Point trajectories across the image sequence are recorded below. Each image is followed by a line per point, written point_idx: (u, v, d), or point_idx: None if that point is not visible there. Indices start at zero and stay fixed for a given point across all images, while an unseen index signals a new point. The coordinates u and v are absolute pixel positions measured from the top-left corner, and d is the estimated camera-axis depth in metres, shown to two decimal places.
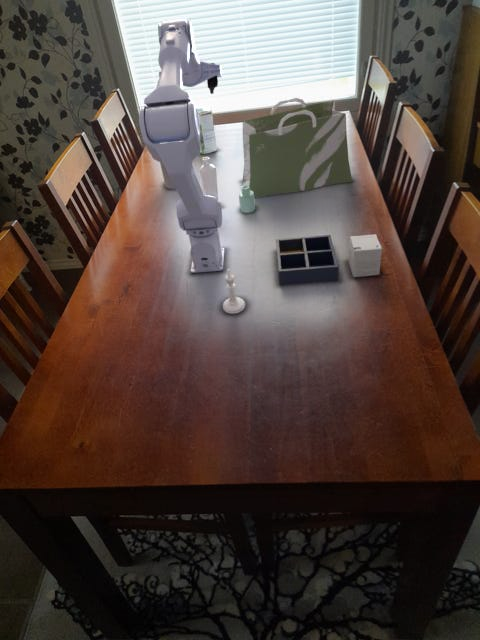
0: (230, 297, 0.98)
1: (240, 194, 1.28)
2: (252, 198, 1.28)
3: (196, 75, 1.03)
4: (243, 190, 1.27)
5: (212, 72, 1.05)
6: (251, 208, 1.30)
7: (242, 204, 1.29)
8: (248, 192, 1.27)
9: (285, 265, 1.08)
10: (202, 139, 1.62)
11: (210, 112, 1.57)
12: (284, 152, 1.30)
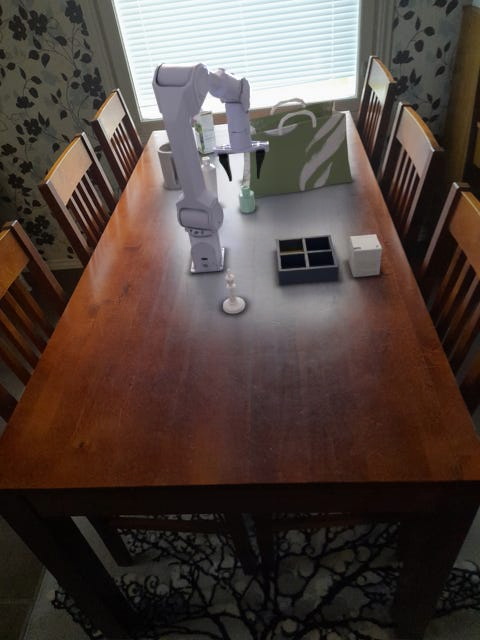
0: (230, 297, 0.98)
1: (240, 194, 1.28)
2: (252, 198, 1.28)
3: (247, 139, 1.16)
4: (243, 190, 1.27)
5: None
6: (251, 208, 1.30)
7: (242, 204, 1.29)
8: (248, 192, 1.27)
9: (285, 265, 1.08)
10: (202, 139, 1.62)
11: (210, 112, 1.57)
12: (284, 152, 1.30)
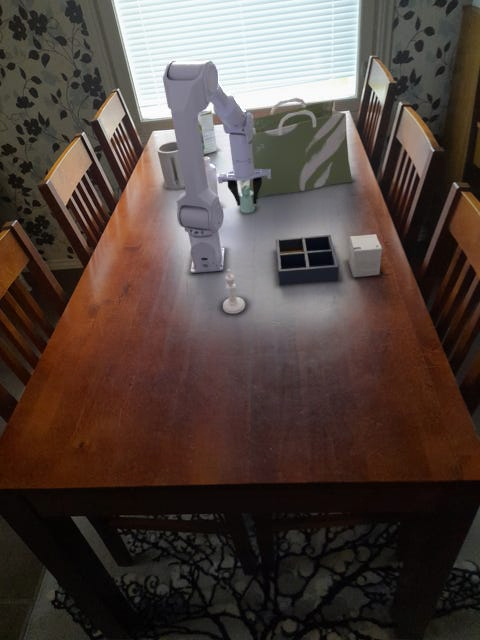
0: (230, 297, 0.98)
1: (240, 194, 1.28)
2: (252, 198, 1.28)
3: (250, 168, 1.21)
4: (243, 190, 1.27)
5: None
6: (251, 208, 1.30)
7: (242, 204, 1.29)
8: (248, 192, 1.27)
9: (285, 265, 1.08)
10: (202, 139, 1.62)
11: (210, 112, 1.57)
12: (284, 152, 1.30)
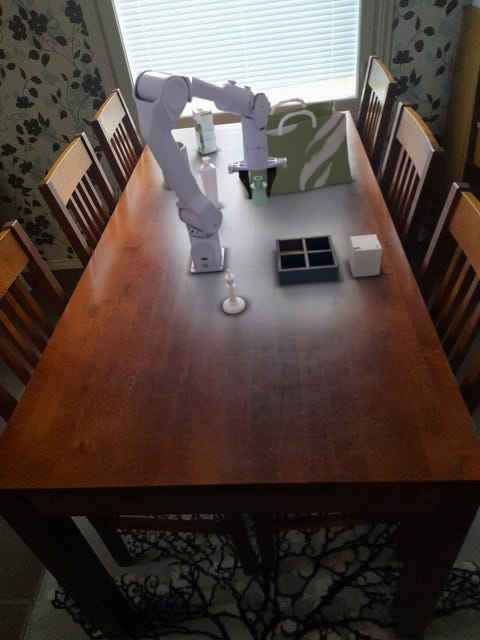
0: (230, 297, 0.98)
1: (252, 186, 1.16)
2: (265, 190, 1.16)
3: (264, 156, 1.09)
4: (256, 182, 1.15)
5: None
6: (264, 201, 1.17)
7: (254, 197, 1.17)
8: (261, 184, 1.15)
9: (285, 265, 1.08)
10: (202, 139, 1.62)
11: (210, 112, 1.57)
12: (284, 152, 1.30)
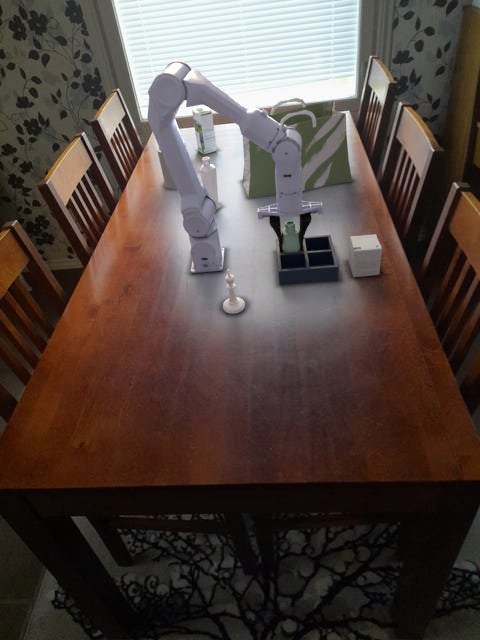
0: (230, 297, 0.98)
1: (283, 231, 1.06)
2: (298, 236, 1.05)
3: (298, 202, 0.98)
4: (288, 227, 1.04)
5: None
6: (296, 248, 1.07)
7: (285, 243, 1.06)
8: (294, 229, 1.05)
9: (285, 265, 1.08)
10: (202, 139, 1.62)
11: (210, 112, 1.57)
12: None
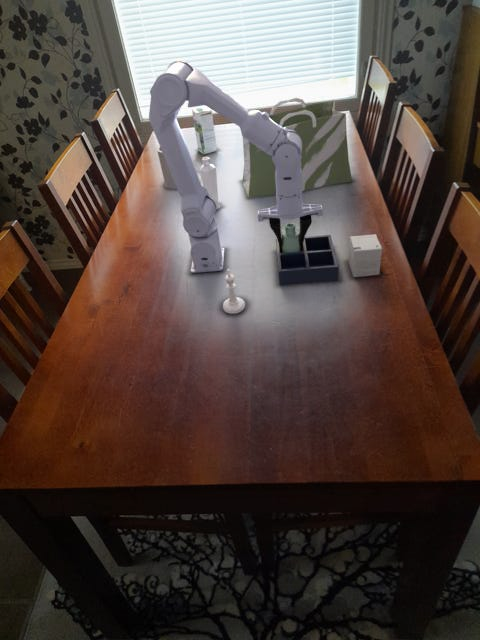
0: (230, 297, 0.98)
1: (283, 233, 1.06)
2: (298, 238, 1.06)
3: (298, 204, 0.99)
4: (288, 229, 1.04)
5: (313, 209, 1.01)
6: (296, 250, 1.07)
7: (285, 245, 1.07)
8: (294, 232, 1.05)
9: (285, 265, 1.08)
10: (202, 139, 1.62)
11: (210, 112, 1.57)
12: None
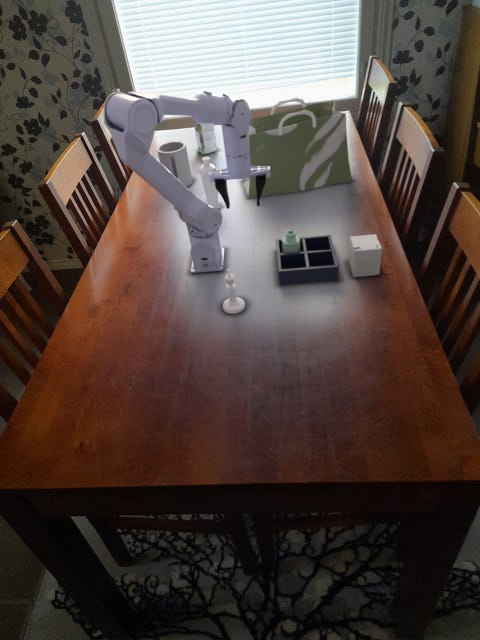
0: (230, 297, 0.98)
1: (284, 240, 1.07)
2: (298, 245, 1.07)
3: (246, 165, 1.05)
4: (288, 237, 1.06)
5: (261, 171, 1.08)
6: None
7: (286, 252, 1.08)
8: (294, 239, 1.06)
9: (285, 265, 1.08)
10: (202, 139, 1.62)
11: None
12: (284, 152, 1.30)
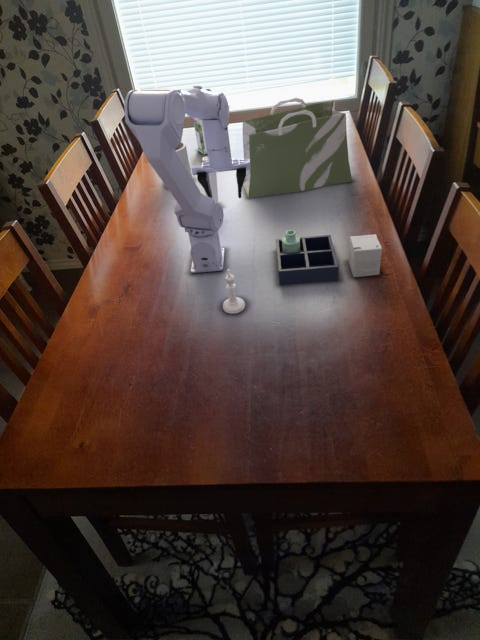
0: (230, 297, 0.98)
1: (284, 240, 1.07)
2: (298, 245, 1.07)
3: (226, 158, 1.09)
4: (288, 237, 1.06)
5: (241, 164, 1.12)
6: None
7: (286, 252, 1.08)
8: (294, 239, 1.06)
9: (285, 265, 1.08)
10: (202, 139, 1.62)
11: None
12: (284, 152, 1.30)
